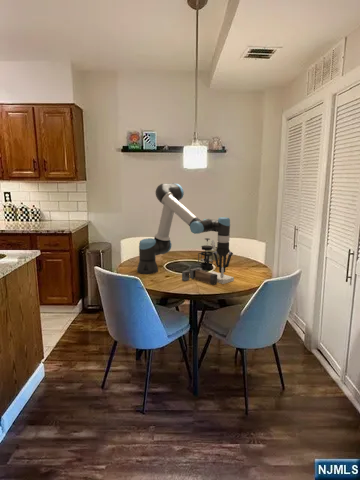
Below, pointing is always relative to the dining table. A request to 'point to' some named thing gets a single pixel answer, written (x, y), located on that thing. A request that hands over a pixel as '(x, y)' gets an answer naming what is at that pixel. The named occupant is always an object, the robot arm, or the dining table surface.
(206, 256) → the french press
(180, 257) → the dining table surface
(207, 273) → the bar
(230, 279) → the table-top board
